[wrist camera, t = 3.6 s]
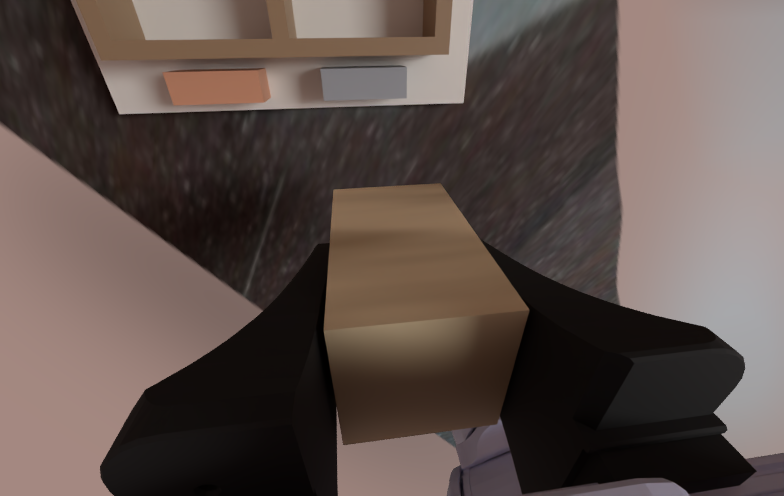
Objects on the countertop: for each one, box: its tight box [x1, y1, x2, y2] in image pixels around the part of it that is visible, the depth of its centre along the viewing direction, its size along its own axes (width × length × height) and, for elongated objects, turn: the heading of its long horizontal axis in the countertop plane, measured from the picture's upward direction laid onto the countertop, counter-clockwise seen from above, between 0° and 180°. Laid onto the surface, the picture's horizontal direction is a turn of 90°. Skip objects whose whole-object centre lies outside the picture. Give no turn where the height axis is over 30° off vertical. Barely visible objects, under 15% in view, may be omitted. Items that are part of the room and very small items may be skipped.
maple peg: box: [324, 184, 529, 445], centre depth 10 cm, size 4×4×7 cm
